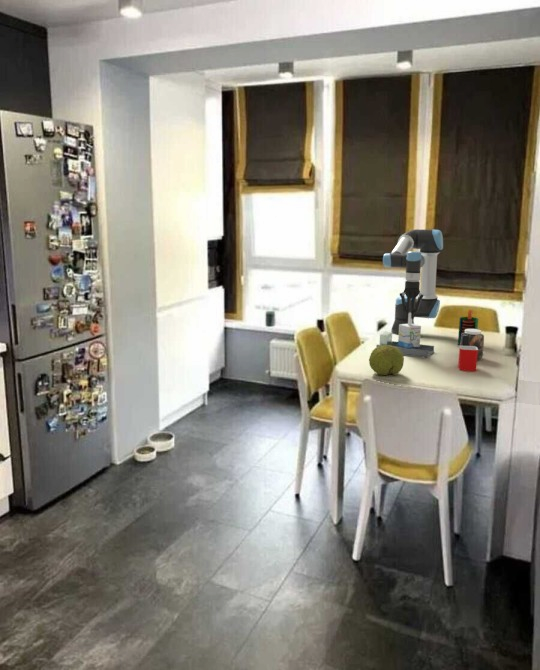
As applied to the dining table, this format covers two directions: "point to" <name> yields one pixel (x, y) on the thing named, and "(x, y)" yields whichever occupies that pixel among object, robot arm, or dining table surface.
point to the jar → (473, 341)
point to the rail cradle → (414, 351)
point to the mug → (467, 358)
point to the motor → (467, 324)
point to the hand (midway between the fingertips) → (409, 324)
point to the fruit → (386, 360)
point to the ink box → (409, 335)
